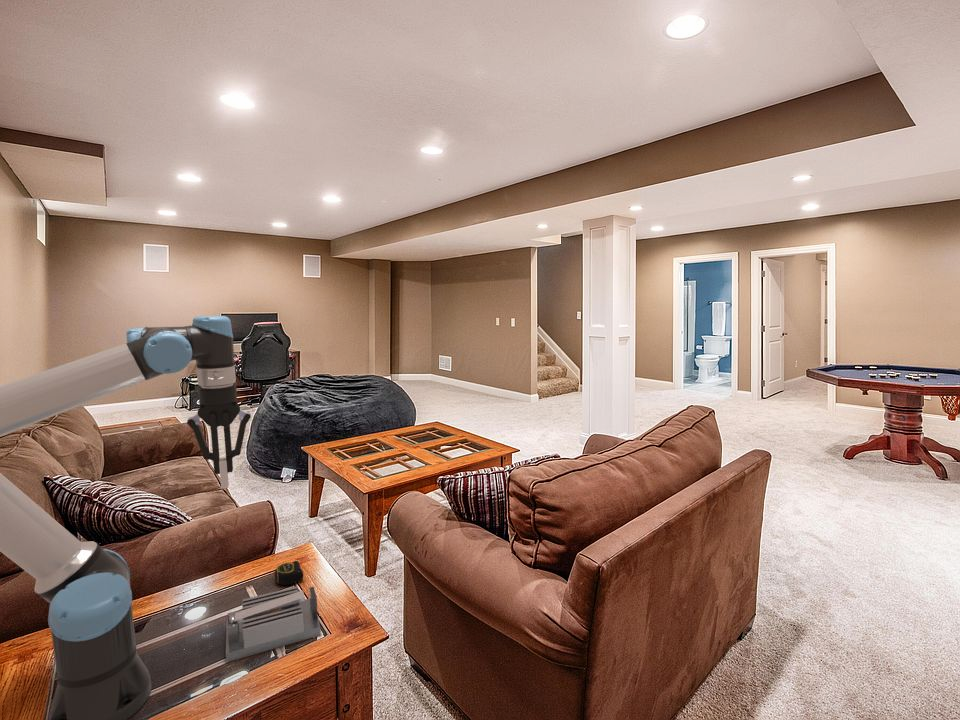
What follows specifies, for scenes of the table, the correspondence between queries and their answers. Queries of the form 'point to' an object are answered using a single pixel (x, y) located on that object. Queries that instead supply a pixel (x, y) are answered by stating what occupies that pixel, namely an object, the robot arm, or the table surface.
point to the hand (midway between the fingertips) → (224, 486)
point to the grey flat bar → (266, 607)
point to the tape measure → (288, 573)
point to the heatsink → (272, 625)
